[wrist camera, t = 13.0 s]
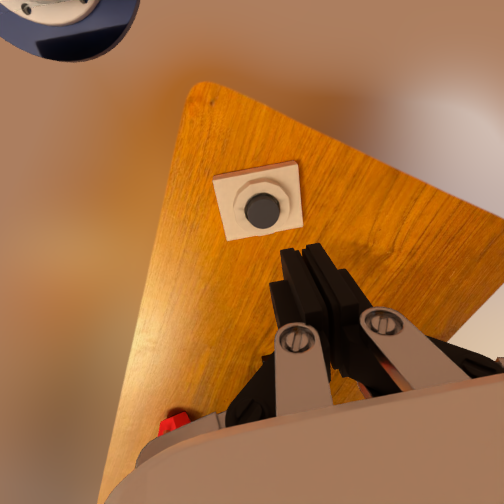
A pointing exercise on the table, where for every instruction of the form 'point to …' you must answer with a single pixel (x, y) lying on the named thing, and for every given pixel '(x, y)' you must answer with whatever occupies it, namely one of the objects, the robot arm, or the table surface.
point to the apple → (173, 423)
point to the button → (262, 211)
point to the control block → (255, 183)
